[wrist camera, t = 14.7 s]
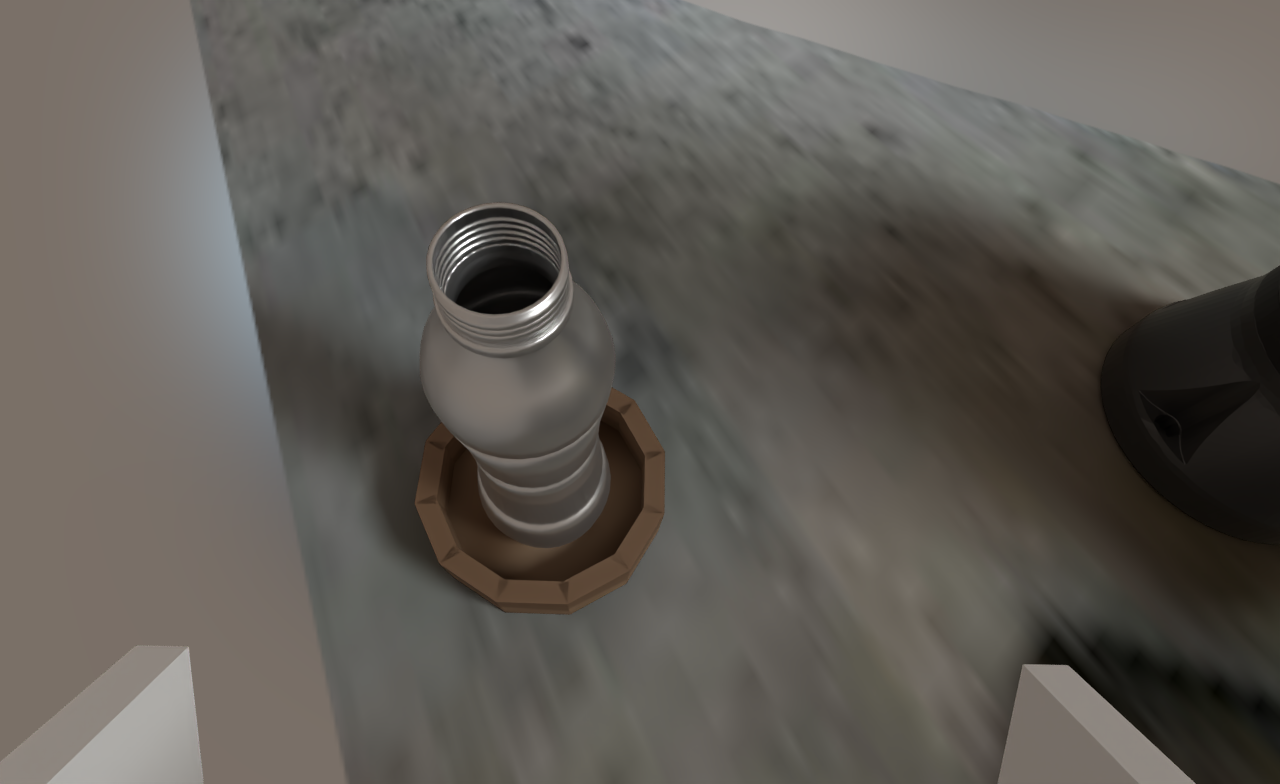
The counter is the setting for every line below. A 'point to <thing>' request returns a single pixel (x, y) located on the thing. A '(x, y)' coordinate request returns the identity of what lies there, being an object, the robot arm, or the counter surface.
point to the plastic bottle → (519, 370)
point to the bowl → (554, 573)
